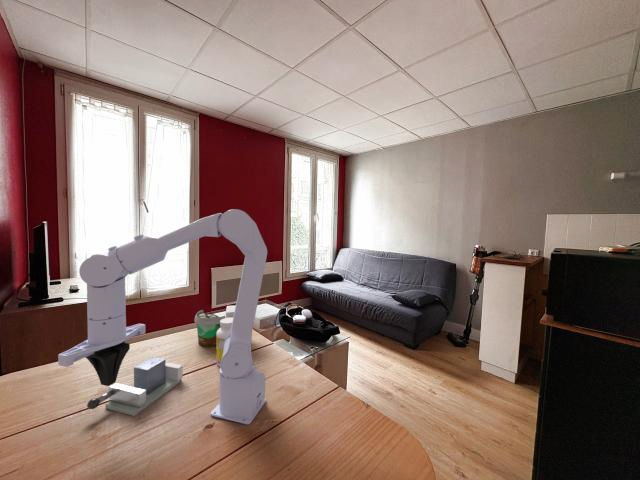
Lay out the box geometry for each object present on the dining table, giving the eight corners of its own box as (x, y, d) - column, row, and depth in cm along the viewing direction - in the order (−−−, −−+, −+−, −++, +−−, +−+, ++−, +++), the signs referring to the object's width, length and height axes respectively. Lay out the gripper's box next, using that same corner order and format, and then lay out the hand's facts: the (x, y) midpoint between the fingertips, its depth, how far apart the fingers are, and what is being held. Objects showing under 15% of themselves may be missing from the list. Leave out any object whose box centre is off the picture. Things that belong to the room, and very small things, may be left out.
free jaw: (146, 402, 57) (145, 389, 57) (117, 423, 51) (117, 409, 51) (115, 394, 59) (115, 382, 59) (84, 413, 53) (84, 400, 53)
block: (147, 395, 60) (147, 370, 59) (134, 391, 61) (133, 367, 60) (165, 382, 65) (165, 359, 64) (152, 379, 66) (152, 356, 65)
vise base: (182, 381, 67) (182, 365, 67) (135, 416, 55) (135, 397, 54) (155, 375, 69) (155, 360, 69) (104, 408, 57) (104, 389, 56)
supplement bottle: (222, 355, 80) (223, 315, 80) (243, 357, 80) (243, 316, 79) (211, 367, 74) (212, 323, 73) (234, 369, 73) (234, 325, 72)
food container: (186, 343, 88) (186, 314, 88) (202, 336, 94) (202, 309, 93) (210, 352, 82) (211, 321, 82) (226, 344, 88) (226, 315, 87)
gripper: (127, 302, 58) (128, 361, 59) (44, 326, 44) (46, 403, 45) (153, 305, 56) (153, 366, 57) (74, 331, 42) (76, 412, 43)
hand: (108, 383), depth 51 cm, fingers closed
